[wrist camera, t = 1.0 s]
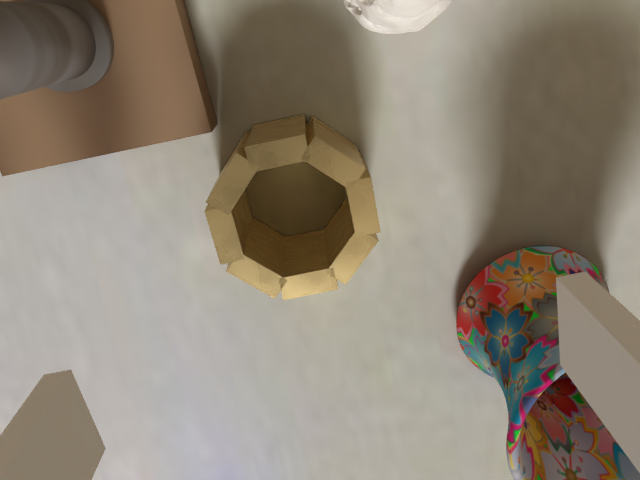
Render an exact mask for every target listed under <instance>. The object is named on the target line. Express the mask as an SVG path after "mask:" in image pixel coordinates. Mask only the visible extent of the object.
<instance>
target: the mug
mask: <svg viewBox="0 0 640 480" xmlns="http://www.w3.org/2000/svg"><path fill="white" fill-rule="evenodd" d="M581 272H587V273H588V274H589V275H590V276H591V277H592V278H593V279H594V280H595V281H596V282H598V283H599V284H600V285H601V286H602V287H603V288H604V289H605V290H606V291H607V292H609V289H608V286H607V284H606V281H605V279H604V277H603V276H602V274H601V273H600V271H599V270H598V269H597V268H596V266H595V265H594V264H593V263H591V262H590V261H589V260H588V259H586V258H585V257H583V256H581V255H580V254H578V253H575V252H573V251H570V250H567V249H564V248H559V247H553V246H535V247H528V248H523V249H519V250H516V251H513V252H511V253H508V254H506V255H504V256H502V257H500V258H498V259H496V260H495V261H493V262H492V263H490V264H489V265H488V266H486V267H485V268H484V269H483V270H482V271H481V272H480V273H479V274H478V275H477V276H476V277H475V278H474V279H473V280H472V282H471V283H470V284H469V286H468V287H467V289H466V291H465V293H464V294H463V297H462V299H461V301H460V304H459V308H458V312H457V335H458V339H459V343H460V345H461V348H462V350H463V351H464V353H465V355H466V356H467V358H468V359H469V360H470V361H471V362H472V363H473V364H474V365H475V366H476V367H477V368H479V369H480V370H481V371H483V372H484V373H486V374H488V375H490V376H492V377H494V378H495V379H496V380H497V382H498V383H499V385H500V386H501V388H502V390H503V393H504V395H505V398H506V402H507V407H508V415H509V425H508V434H507V443H506V451H507V460H508V465H509V468H510V471H511V474H512V476H513V478H514V480H640V473H639V472H638V470H637V469H636V468H635V466H634V465H633V463H632V462H631V461H630V459H629V458H628V457H627V455H626V454H625V453H624V451H623V450H622V448H621V447H620V446H619V444H618V443H617V442H616V440H615V439H614V438H613V436H612V435H611V433H610V432H609V431H608V429H607V428H606V427H605V425H604V424H603V423H602V421H601V420H600V418H599V417H598V416H597V414H596V413H595V412H594V410H593V409H592V408H591V406H590V405H589V403H588V402H587V401H586V399H585V398H584V397H583V395H582V394H581V393H580V391H579V390H578V389H577V387H576V386H575V384H574V383H573V382H572V380H571V379H570V378H569V376H568V375H567V374H566V372H565V371H564V369H563V368H562V367H561V365H560V351H559V330H558V309H557V288H556V277H560V276H565V275H570V274H575V273H581Z"/></svg>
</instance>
